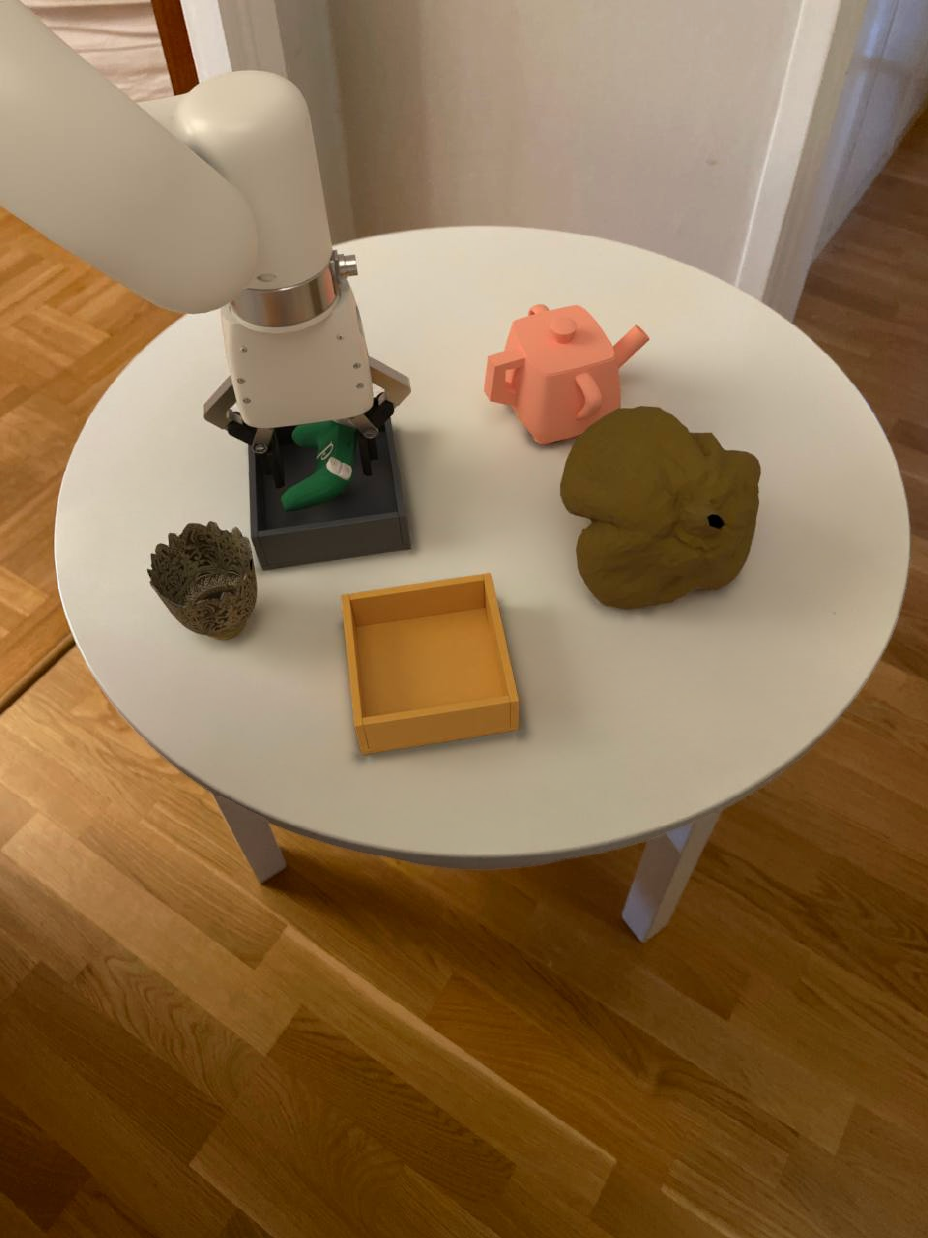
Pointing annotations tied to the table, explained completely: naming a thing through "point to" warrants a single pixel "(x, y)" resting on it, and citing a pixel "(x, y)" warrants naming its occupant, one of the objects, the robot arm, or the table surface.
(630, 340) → the teapot
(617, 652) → the table surface
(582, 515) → the olive-brown lumpy blob
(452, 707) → the ochre bin
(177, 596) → the cup
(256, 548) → the charcoal bin
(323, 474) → the gaming controller
